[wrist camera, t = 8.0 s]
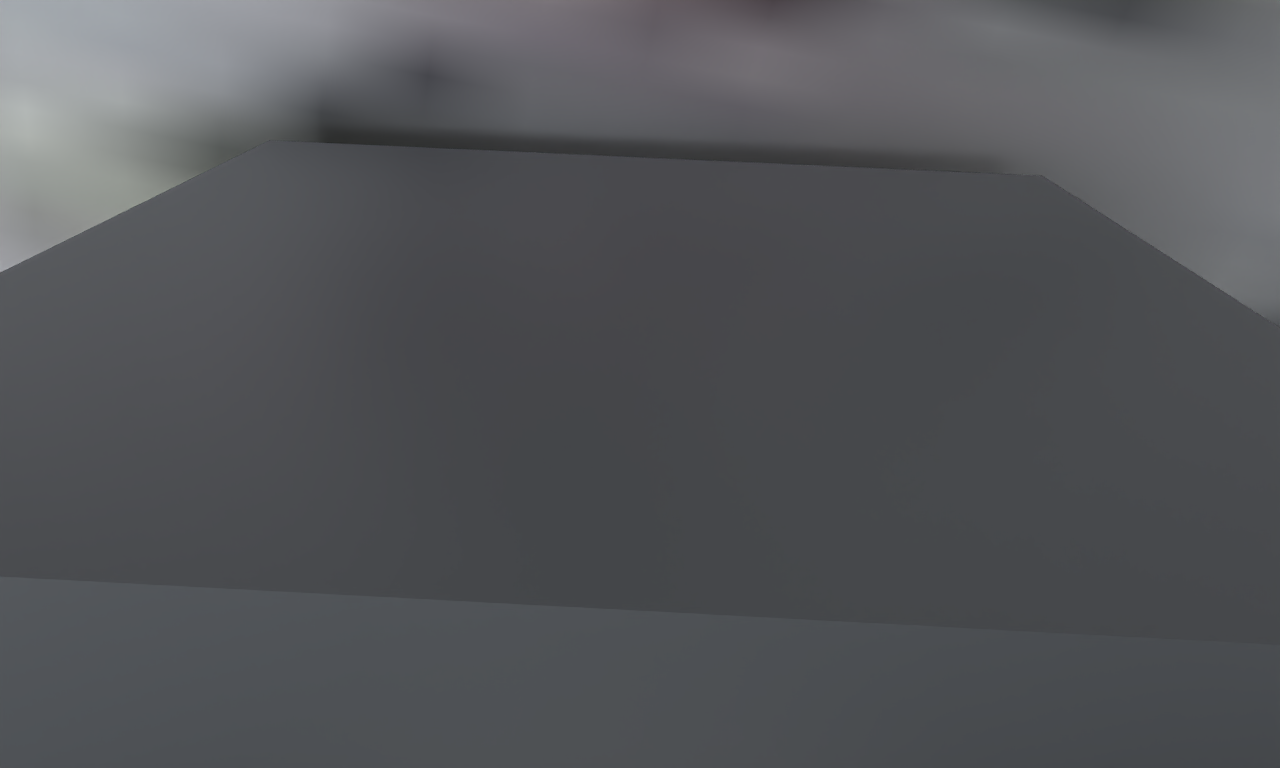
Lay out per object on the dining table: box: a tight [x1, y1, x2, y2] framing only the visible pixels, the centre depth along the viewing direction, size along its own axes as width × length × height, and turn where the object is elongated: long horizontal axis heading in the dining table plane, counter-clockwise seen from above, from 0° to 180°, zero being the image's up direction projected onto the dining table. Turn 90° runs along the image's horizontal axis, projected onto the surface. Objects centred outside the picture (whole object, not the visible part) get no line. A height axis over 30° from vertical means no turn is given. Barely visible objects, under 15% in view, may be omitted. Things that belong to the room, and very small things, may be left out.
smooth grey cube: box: [0, 140, 1280, 768], centre depth 10 cm, size 10×10×9 cm
